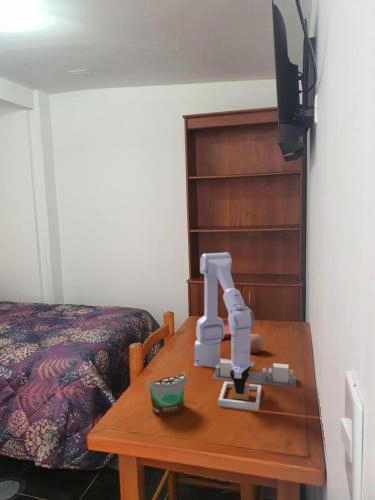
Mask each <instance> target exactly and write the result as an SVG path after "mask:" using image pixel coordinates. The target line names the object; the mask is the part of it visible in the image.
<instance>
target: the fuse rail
mask: <svg viewBox="0 0 375 500" xmlns="http://www.w3.org/2000/svg"><path fill="white" fill-rule="evenodd" d="M248 373H249V376H248V378H247V380H248V381H249V383H250V384H259V385H262V384H263V385H269V386H270V385H271V386H281V387H289V388H290V387H292V388H297V380H296V379H297V378H296V376H297V375H294V369H289V370H288V383H287V382H277V381H273V367H269V368H268V372H267V367H262V371H261V372H260V371H259V372H257V371H248ZM211 379H212V380H213V379H214V380H220V381H221V380H224V381H230V382H233V379H232V377H227V376H220V364H219V363H217V365H216V367H215V370H214V372H213V374H212V377H211Z"/></svg>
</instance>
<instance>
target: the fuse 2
mask: <svg viewBox="0 0 375 500" xmlns="http://www.w3.org/2000/svg"><path fill="white" fill-rule="evenodd" d="M272 366H273V367H272V374H273V381H277V382H287V383H288V375H289V370H290V369H289V364H286V363H285V364H283V363H274V362H273V364H272Z"/></svg>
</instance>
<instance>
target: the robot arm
mask: <svg viewBox="0 0 375 500" xmlns="http://www.w3.org/2000/svg"><path fill="white" fill-rule="evenodd" d="M199 262H200V263H199V271H200V272H199V273H200V274H201V275H203V279H204V285H203V286H204V291H203V292H204V298H203V299H204V301H203V302H204V306H203V307H204V310H203V312H204V315H203V316H201V317H200V318H199V319H198V320H197V321H196V328H195V335H196V338H197V339H196V340H195V342H194V349H193V350H194V366H196V367H197V366H199V367H208V368H216V365H217V363H219V364H220V361H221V359H222V358H221V342H222V340H223V338H224V335H225V330H224V323H223V320H224V319H222V318H221V317H219V315H218V303H219V302H218V301H219V300H218V295H219V293H218V292H219V291H218V290H219V289H218V288H219V287H218V286H219V285H218V284H220V285H221V288H222V290H223V292H224V293H223V295H222V299H223V302H224V305H225V307H226V310H227V313H228V314H227V315H228V317H227V320H228V323H229V328H230V334H231V338H230V341H231V342H230V343H231V344H230V346H231V347H230V348H231V349H230V350H231V351H230V353H231V355H230V356H231V358H230V360H231V366H232V368H233V370H231V371H230V376H231V377H232V379H233V381H232V382H234V385H235V390H236V393H237V394H243V393H244V388H245V382H246V380H247V378H248V376H249V373H248V372H250V369H251V367H254V365H255V361H251V353H250V334H251V328H253V327H254V324H255V317H254V314H253V311H252V309H251V308H249V306H247V305H246V304H245V300H244V298H243V295H242V294H241V291H240V290H239V289H237V288H235V287H236V286H235V284H234V280H233V277H232V272H231V269H232V264H233V263H232V262H233V261H232V256H231V254H230V253H229V252H228V251H225V252H214V253H205V252H204V253H203V254H202V255H201V256H200V259H199ZM224 339H225V338H224Z"/></svg>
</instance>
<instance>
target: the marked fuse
mask: <svg viewBox="0 0 375 500" xmlns="http://www.w3.org/2000/svg"><path fill="white" fill-rule="evenodd" d="M231 382H232V388H231V398H232V399H233V400H243V401H249V398H250V390H249V384H250V382H249V381H248V380H246V382H245V388H244V393H243V394H237V393H236V390H235V385H234V382H233V381H231Z"/></svg>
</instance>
